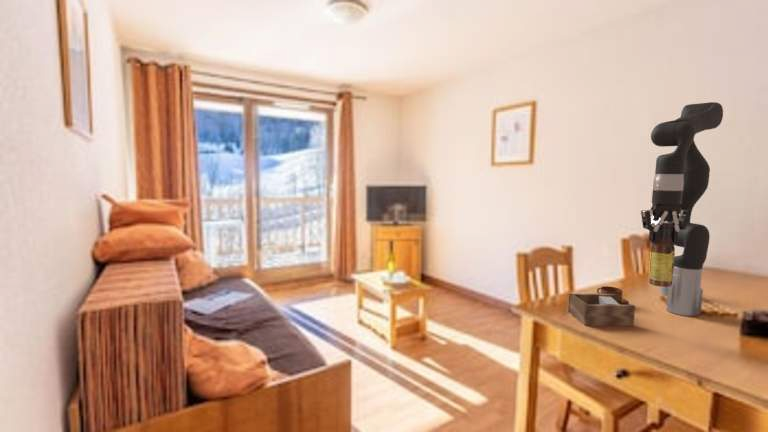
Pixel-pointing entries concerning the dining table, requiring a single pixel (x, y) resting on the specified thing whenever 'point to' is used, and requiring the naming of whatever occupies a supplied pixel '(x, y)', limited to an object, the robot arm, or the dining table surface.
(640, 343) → the dining table surface
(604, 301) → the offcut top
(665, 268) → the sauce bottle
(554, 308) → the dining table surface
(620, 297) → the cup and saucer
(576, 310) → the wooden box
